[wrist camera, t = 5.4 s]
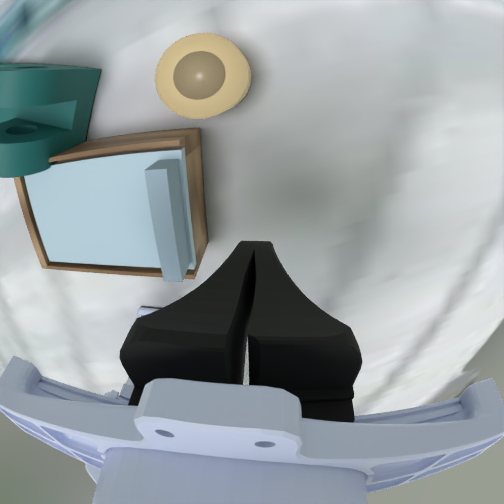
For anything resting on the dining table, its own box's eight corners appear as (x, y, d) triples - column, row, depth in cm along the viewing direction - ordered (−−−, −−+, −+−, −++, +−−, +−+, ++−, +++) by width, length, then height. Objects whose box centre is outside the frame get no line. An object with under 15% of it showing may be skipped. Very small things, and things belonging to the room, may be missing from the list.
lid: (196, 263, 19) (186, 288, 17) (54, 256, 20) (36, 275, 18) (184, 147, 15) (169, 158, 13) (28, 168, 16) (5, 181, 14)
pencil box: (208, 242, 23) (194, 278, 19) (69, 239, 24) (42, 268, 20) (200, 127, 18) (179, 140, 14) (48, 149, 19) (11, 167, 15)
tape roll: (251, 111, 18) (246, 117, 14) (178, 115, 18) (156, 122, 14) (251, 41, 15) (246, 29, 11) (176, 47, 15) (153, 39, 12)
